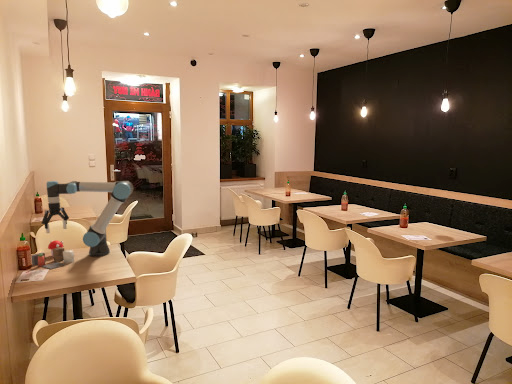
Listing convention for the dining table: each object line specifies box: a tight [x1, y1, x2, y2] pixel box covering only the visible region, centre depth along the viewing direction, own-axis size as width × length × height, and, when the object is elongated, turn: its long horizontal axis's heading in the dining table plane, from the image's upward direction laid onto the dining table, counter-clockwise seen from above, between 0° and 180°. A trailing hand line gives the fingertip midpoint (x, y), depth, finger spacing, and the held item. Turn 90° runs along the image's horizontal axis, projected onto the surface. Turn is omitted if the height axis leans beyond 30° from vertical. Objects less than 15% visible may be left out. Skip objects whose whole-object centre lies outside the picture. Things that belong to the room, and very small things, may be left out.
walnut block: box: [52, 247, 65, 263], centre depth 285 cm, size 6×6×9 cm
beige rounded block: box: [63, 249, 75, 264], centre depth 281 cm, size 7×7×8 cm
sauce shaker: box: [37, 253, 46, 268], centre depth 273 cm, size 4×4×9 cm
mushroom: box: [47, 239, 65, 257], centre depth 297 cm, size 11×11×12 cm
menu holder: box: [30, 252, 46, 266], centre depth 278 cm, size 8×3×7 cm, turn 150°
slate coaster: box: [41, 261, 67, 270], centre depth 273 cm, size 11×11×1 cm
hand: (56, 230), depth 281 cm, fingers open, 13 cm apart
